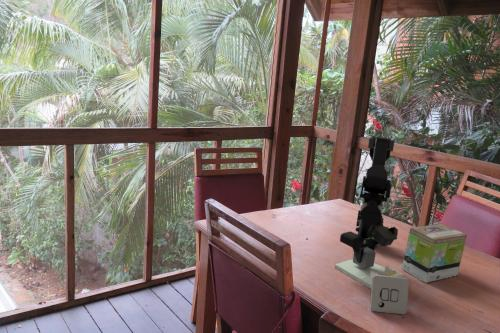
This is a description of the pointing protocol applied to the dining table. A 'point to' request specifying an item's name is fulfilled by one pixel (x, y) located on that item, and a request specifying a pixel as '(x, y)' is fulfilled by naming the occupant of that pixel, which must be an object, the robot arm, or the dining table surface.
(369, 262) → the plug
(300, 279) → the dining table surface
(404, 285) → the electrical switch
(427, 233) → the tea box
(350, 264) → the board
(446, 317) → the dining table surface
